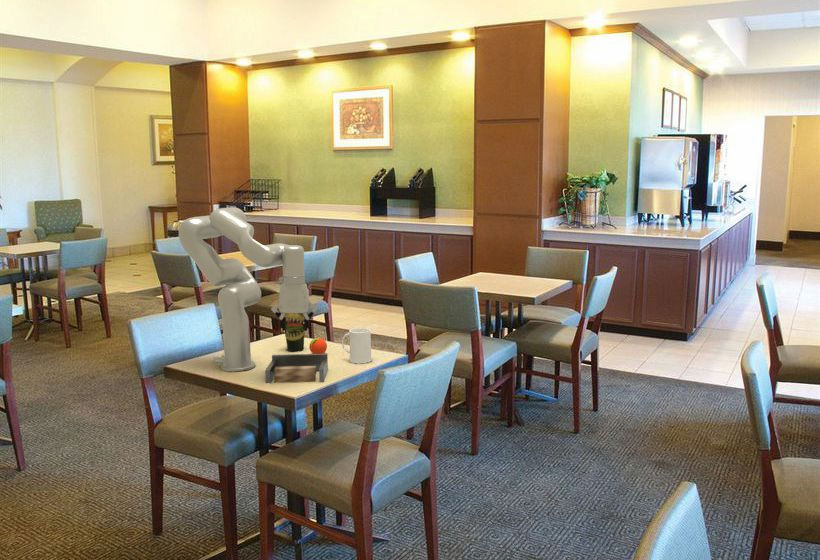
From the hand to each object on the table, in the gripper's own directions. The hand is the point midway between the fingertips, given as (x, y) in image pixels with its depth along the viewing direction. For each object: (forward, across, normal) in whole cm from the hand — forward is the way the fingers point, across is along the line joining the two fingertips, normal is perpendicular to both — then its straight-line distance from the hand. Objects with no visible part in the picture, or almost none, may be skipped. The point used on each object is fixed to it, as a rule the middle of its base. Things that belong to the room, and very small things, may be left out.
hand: (295, 329), depth 246 cm
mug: (+17, +21, +18) cm, 32 cm away
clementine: (+17, +5, +27) cm, 32 cm away
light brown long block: (+17, +1, -7) cm, 18 cm away
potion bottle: (+17, -5, +36) cm, 40 cm away
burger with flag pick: (+4, 0, 0) cm, 4 cm away
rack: (+17, +1, -1) cm, 17 cm away
